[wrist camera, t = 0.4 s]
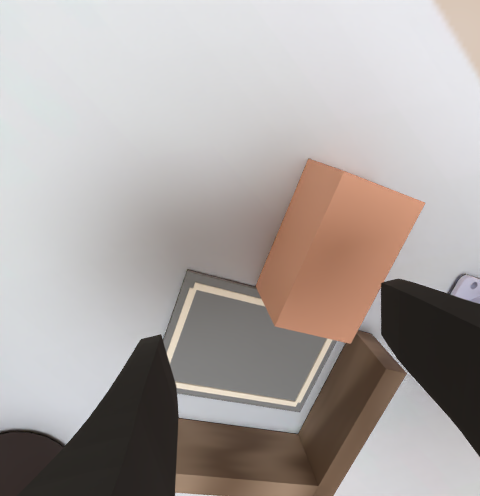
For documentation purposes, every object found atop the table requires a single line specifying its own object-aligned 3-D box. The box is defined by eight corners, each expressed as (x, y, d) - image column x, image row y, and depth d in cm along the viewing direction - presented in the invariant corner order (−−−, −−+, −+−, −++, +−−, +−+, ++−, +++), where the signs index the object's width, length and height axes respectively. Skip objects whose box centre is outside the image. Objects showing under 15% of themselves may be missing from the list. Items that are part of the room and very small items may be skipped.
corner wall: (371, 333, 24) (406, 373, 21) (307, 450, 27) (328, 503, 24) (155, 281, 20) (152, 320, 16) (109, 427, 23) (97, 486, 20)
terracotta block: (374, 184, 21) (425, 202, 16) (318, 301, 23) (350, 343, 19) (307, 158, 19) (344, 171, 15) (254, 284, 22) (274, 326, 17)
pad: (348, 311, 23) (351, 314, 23) (298, 409, 26) (300, 413, 25) (187, 269, 20) (188, 272, 20) (147, 385, 23) (147, 389, 22)
